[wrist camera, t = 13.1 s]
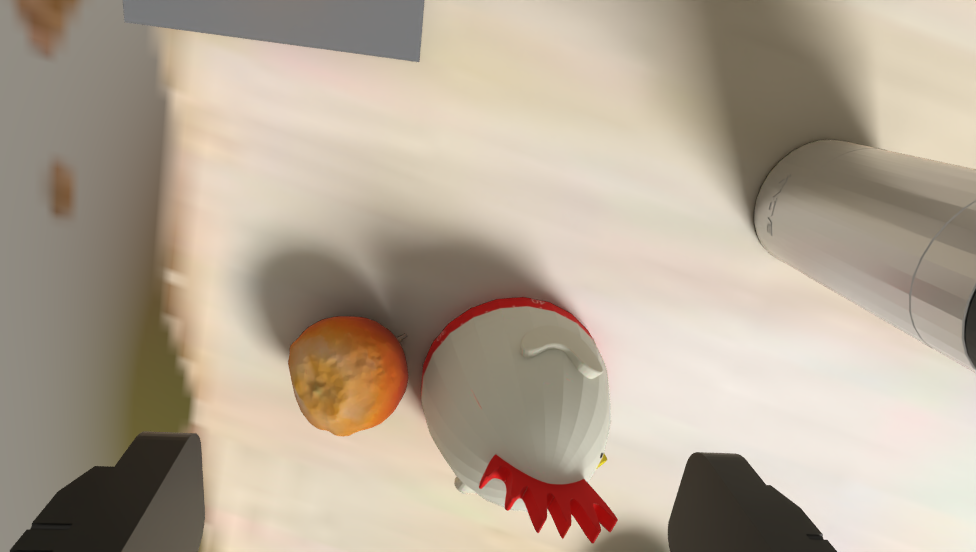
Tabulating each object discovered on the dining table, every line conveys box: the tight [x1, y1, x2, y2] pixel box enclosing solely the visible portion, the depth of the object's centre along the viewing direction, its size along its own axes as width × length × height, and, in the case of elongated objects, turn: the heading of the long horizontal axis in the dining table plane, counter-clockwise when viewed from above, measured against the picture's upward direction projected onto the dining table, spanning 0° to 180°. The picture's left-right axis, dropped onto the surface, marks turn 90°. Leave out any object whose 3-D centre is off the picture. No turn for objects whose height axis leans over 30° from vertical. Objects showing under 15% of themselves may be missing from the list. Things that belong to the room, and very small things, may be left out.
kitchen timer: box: [421, 297, 618, 543], centre depth 37 cm, size 14×14×15 cm
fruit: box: [288, 316, 408, 436], centre depth 39 cm, size 8×8×8 cm
